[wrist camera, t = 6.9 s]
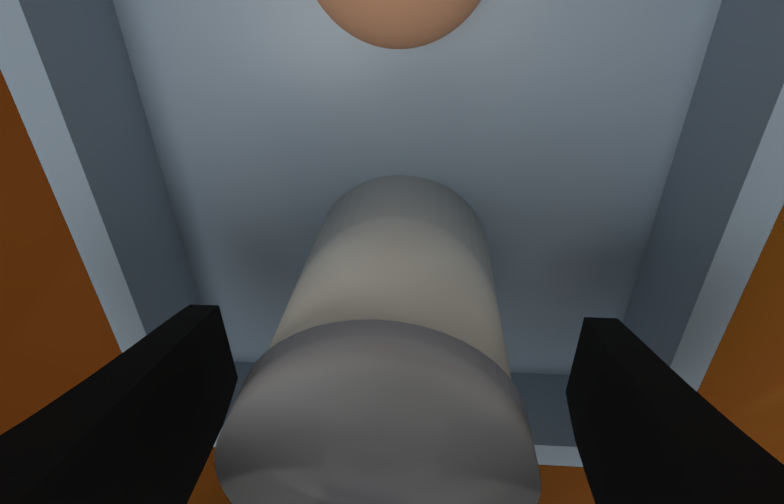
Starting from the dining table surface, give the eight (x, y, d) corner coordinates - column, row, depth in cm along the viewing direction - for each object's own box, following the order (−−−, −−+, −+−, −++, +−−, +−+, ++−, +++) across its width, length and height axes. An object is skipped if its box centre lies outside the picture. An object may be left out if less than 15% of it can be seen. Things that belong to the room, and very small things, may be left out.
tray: (621, 383, 15) (660, 471, 12) (204, 366, 16) (161, 444, 13) (880, -386, 7) (1151, -595, 4) (-11, -325, 8) (-229, -465, 5)
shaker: (484, 326, 13) (518, 580, 8) (321, 319, 14) (245, 559, 8) (502, 171, 11) (570, 383, 5) (303, 167, 11) (178, 364, 6)
